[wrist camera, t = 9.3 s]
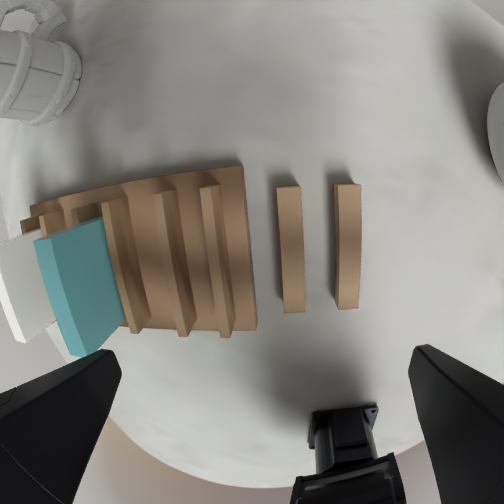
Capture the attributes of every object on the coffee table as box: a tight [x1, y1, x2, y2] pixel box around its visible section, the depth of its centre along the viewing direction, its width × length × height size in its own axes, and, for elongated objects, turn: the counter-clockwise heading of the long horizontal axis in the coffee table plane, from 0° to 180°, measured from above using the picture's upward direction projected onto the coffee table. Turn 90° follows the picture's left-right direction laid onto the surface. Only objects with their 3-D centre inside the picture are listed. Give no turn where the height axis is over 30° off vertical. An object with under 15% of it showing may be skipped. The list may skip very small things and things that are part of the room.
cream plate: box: [0, 228, 56, 344], centre depth 16 cm, size 7×2×7 cm, turn 5°
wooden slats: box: [276, 184, 362, 313], centre depth 17 cm, size 8×5×2 cm, turn 5°
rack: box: [20, 166, 258, 338], centre depth 18 cm, size 11×19×4 cm, turn 95°
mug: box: [0, 0, 82, 126], centre depth 10 cm, size 8×12×12 cm, turn 173°
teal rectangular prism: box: [33, 215, 126, 357], centre depth 16 cm, size 7×2×7 cm, turn 5°
